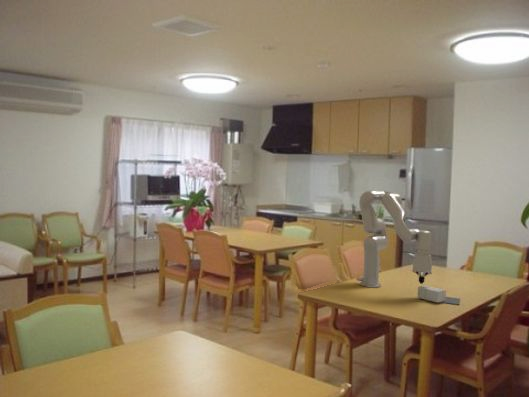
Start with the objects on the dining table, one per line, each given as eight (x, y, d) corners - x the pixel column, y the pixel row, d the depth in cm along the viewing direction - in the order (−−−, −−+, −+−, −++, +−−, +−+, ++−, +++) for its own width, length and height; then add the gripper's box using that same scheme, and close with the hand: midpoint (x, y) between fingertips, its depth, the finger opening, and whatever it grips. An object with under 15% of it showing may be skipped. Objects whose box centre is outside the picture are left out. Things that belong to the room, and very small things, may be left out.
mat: (424, 300, 278) (425, 299, 278) (427, 295, 291) (427, 294, 291) (459, 305, 271) (459, 304, 271) (460, 299, 284) (460, 298, 284)
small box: (417, 297, 282) (437, 302, 272) (417, 286, 282) (437, 291, 271) (425, 296, 287) (445, 301, 277) (425, 285, 287) (446, 289, 276)
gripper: (409, 251, 284) (407, 282, 285) (436, 254, 278) (434, 286, 279) (410, 249, 291) (409, 280, 292) (437, 252, 285) (435, 283, 286)
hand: (421, 283), depth 285 cm, fingers closed
